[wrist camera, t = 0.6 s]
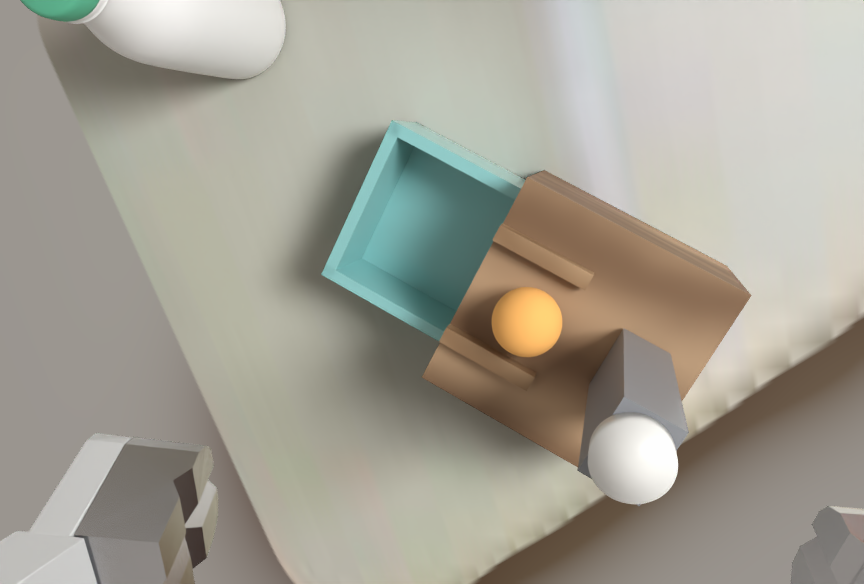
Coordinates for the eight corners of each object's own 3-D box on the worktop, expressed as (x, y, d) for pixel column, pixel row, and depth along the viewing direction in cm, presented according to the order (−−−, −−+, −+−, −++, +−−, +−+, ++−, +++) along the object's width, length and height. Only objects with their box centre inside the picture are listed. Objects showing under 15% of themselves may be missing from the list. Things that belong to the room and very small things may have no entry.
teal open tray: (416, 122, 54) (392, 120, 48) (536, 185, 53) (525, 191, 47) (351, 261, 57) (321, 274, 51) (462, 323, 56) (444, 344, 50)
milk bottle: (309, 36, 54) (141, -19, 35) (234, 101, 57) (40, 82, 38) (248, -52, 54) (47, -154, 35) (176, 17, 57) (-49, -45, 38)
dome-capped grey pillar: (618, 325, 43) (617, 402, 30) (675, 356, 42) (697, 447, 30) (584, 382, 44) (569, 479, 32) (639, 413, 44) (646, 523, 31)
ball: (517, 269, 44) (506, 281, 40) (577, 301, 43) (573, 317, 40) (486, 326, 45) (473, 343, 41) (544, 358, 45) (537, 379, 41)
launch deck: (544, 170, 52) (525, 178, 42) (726, 266, 51) (754, 299, 40) (455, 337, 56) (417, 382, 46) (621, 430, 55) (621, 500, 44)
